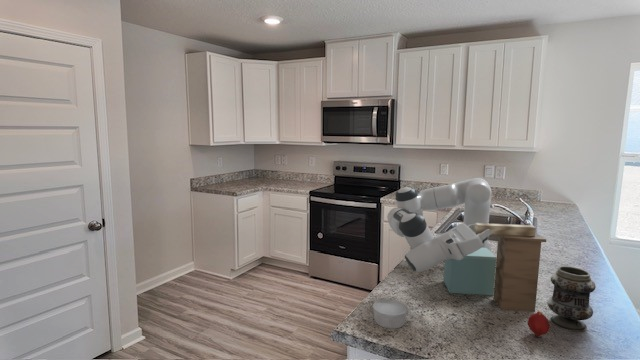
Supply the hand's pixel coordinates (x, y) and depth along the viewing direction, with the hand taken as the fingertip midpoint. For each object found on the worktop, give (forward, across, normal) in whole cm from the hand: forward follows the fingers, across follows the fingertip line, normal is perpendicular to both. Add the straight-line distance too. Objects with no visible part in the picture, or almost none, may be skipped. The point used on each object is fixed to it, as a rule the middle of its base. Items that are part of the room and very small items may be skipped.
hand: (485, 227), depth 127 cm
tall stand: (-4, 0, -30) cm, 30 cm away
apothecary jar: (+6, +11, -36) cm, 38 cm away
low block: (-15, -12, -24) cm, 31 cm away
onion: (-5, +20, -30) cm, 36 cm away
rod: (+4, 0, -5) cm, 7 cm away
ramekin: (-43, +18, -8) cm, 47 cm away
